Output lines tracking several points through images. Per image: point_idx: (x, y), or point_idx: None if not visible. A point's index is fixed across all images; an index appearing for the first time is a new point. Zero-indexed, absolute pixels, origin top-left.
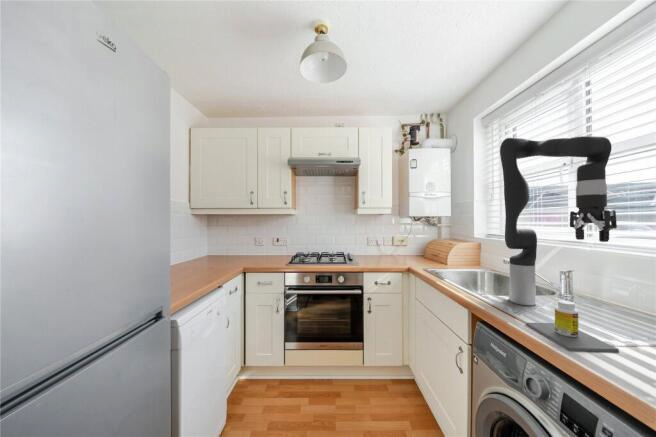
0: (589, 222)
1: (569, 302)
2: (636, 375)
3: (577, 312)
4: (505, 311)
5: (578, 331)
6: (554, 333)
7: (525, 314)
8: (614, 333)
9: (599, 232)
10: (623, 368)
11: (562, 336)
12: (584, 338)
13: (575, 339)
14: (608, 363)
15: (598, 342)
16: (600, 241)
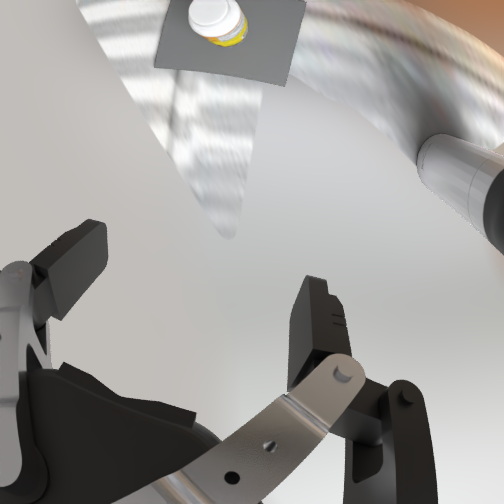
0: (100, 388)
1: (203, 14)
2: (103, 26)
3: (189, 23)
4: (399, 43)
5: (234, 68)
6: None
7: (370, 69)
8: (224, 153)
9: (58, 259)
10: (118, 25)
11: None
12: (202, 46)
13: None
14: (132, 15)
15: (181, 56)
16: (102, 223)
